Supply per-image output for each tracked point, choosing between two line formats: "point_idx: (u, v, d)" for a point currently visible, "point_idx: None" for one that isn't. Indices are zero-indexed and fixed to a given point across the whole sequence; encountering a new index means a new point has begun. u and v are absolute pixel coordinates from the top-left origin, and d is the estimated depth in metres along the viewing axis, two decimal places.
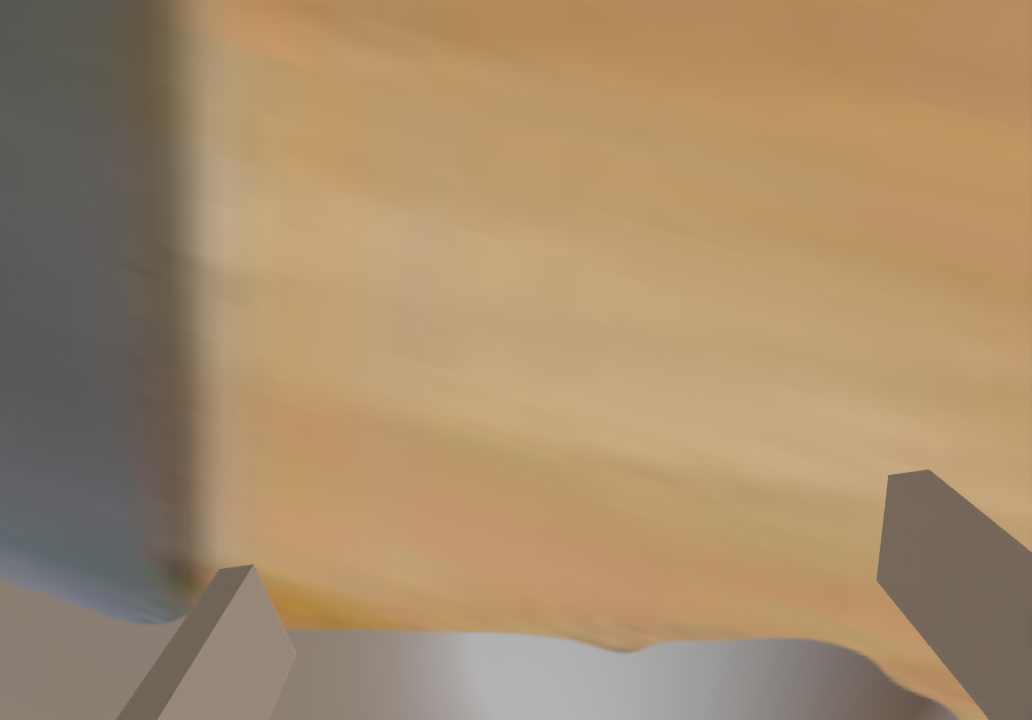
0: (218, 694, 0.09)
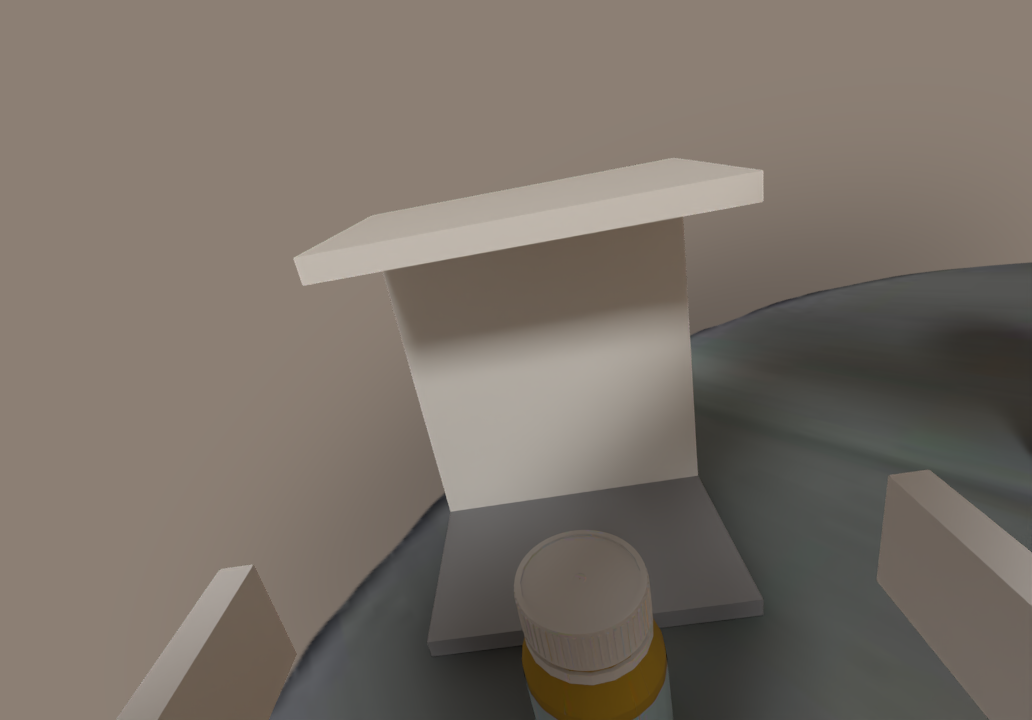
0: (218, 694, 0.09)
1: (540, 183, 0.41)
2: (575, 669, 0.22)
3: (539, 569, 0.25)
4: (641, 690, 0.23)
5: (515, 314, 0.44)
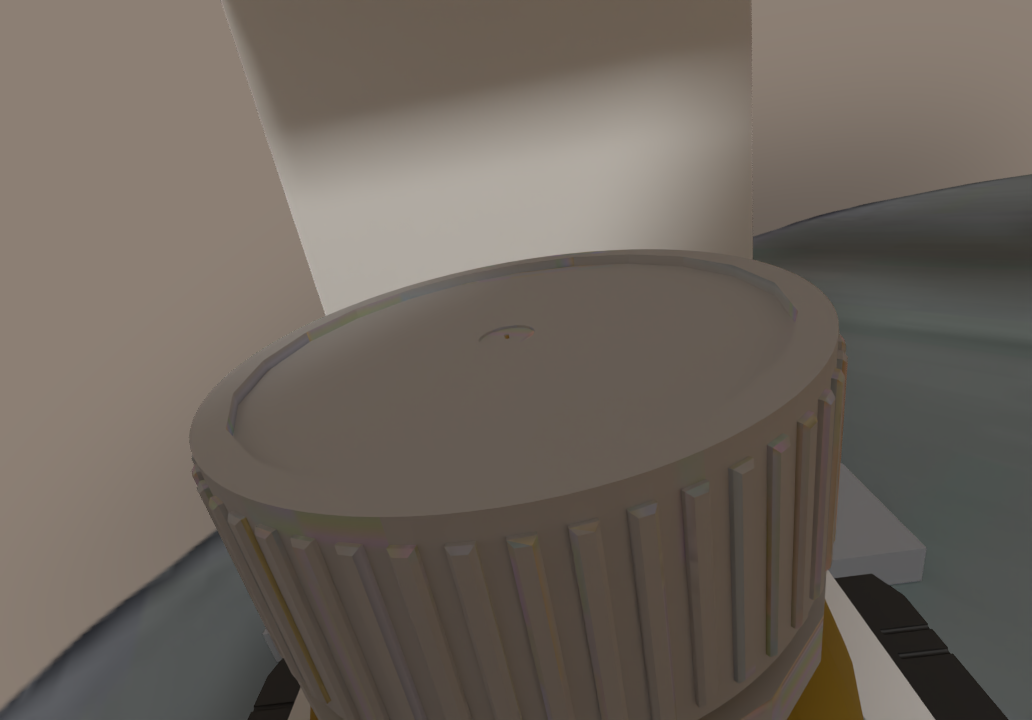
0: None
1: None
2: None
3: (362, 335, 0.07)
4: None
5: (452, 69, 0.25)
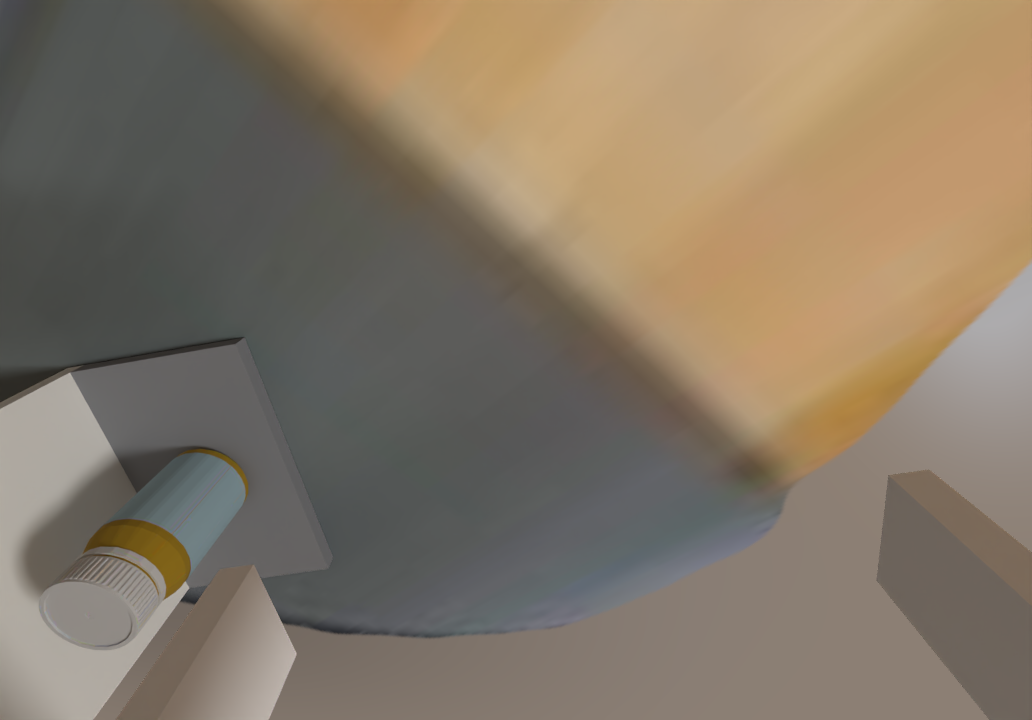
0: (218, 694, 0.09)
1: None
2: (156, 593, 0.36)
3: (91, 637, 0.35)
4: (156, 542, 0.37)
5: None
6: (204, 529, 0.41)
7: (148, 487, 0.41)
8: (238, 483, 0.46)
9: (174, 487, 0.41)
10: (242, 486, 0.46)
